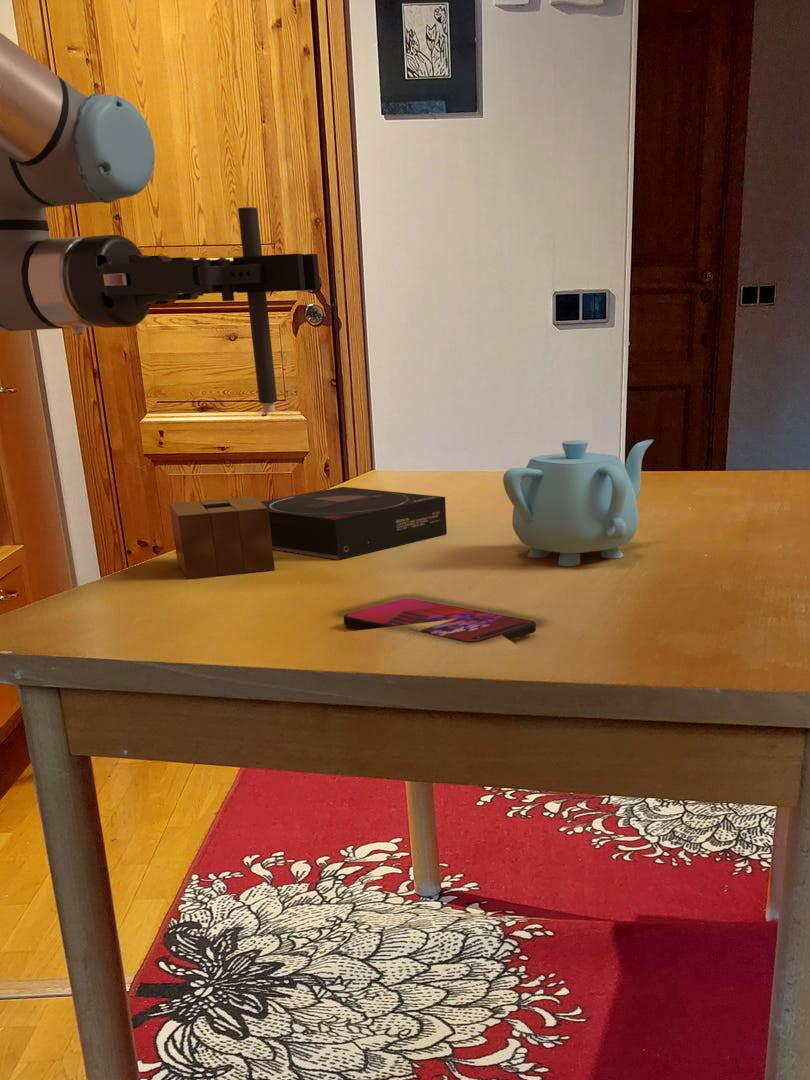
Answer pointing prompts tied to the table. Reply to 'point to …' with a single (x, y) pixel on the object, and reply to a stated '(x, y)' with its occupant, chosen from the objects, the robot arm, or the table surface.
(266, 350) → the stylus
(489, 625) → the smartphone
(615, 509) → the teapot
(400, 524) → the portable cd player
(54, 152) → the robot arm
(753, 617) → the table surface
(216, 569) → the pen stand
